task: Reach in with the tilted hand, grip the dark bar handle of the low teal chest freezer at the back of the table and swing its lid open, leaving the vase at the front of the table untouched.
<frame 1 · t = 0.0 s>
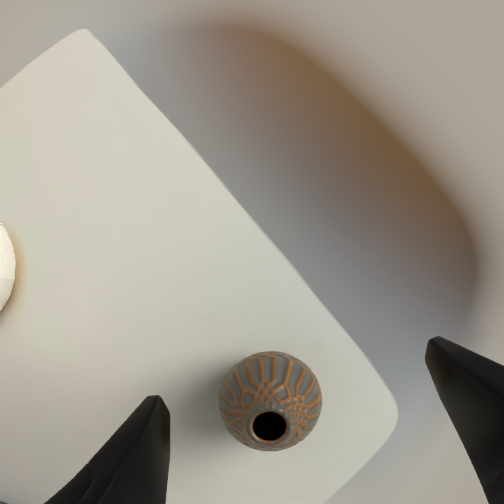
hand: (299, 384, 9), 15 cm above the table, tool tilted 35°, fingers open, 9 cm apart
cup: (1, 272, 27), on the table
vase: (270, 387, 23), on the table
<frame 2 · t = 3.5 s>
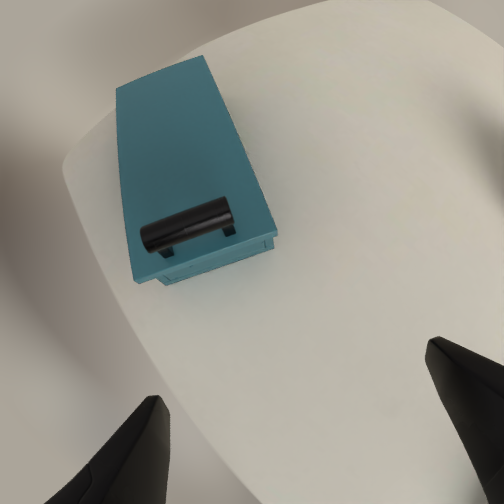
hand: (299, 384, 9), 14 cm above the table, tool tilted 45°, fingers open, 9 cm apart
freezer: (192, 175, 29), on the table
freezer lid: (167, 125, 21), point 8 cm above the table, hinge at 0.0°
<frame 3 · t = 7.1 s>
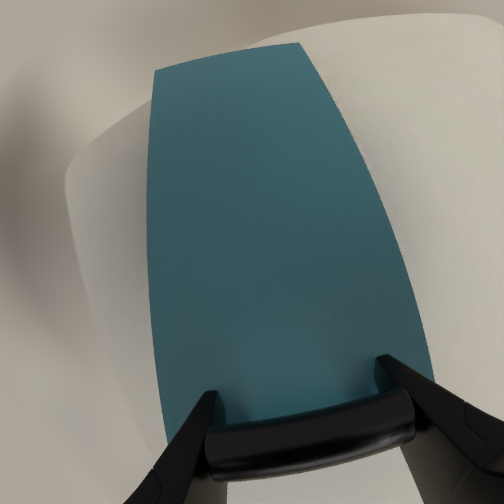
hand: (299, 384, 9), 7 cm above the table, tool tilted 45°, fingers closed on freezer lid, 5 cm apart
freezer lid: (252, 158, 11), point 8 cm above the table, hinge at -0.1°, touching gripper
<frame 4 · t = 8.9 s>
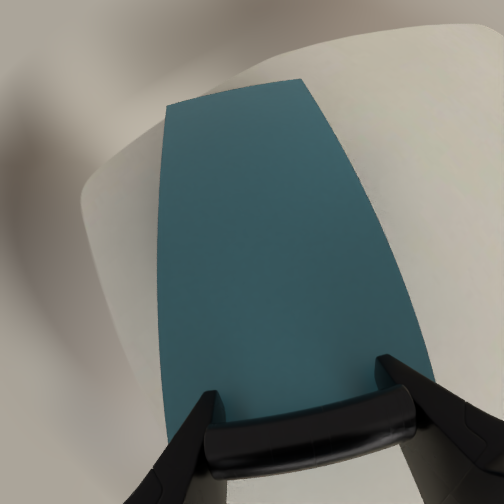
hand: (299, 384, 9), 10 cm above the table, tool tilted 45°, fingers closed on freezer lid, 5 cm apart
freezer lid: (256, 182, 12), point 9 cm above the table, hinge at 9.1°, touching gripper
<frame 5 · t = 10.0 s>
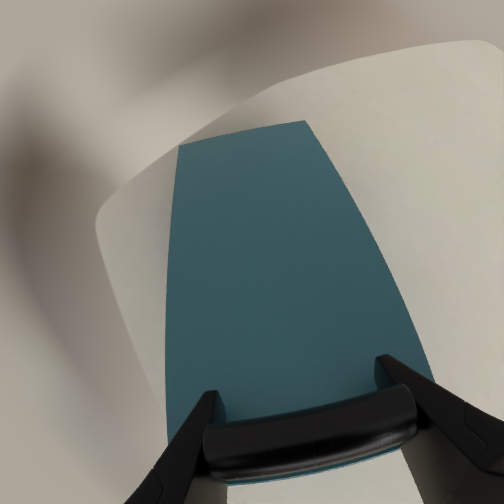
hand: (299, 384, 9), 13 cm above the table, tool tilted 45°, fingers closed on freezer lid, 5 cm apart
freezer lid: (261, 211, 14), point 11 cm above the table, hinge at 18.5°, touching gripper
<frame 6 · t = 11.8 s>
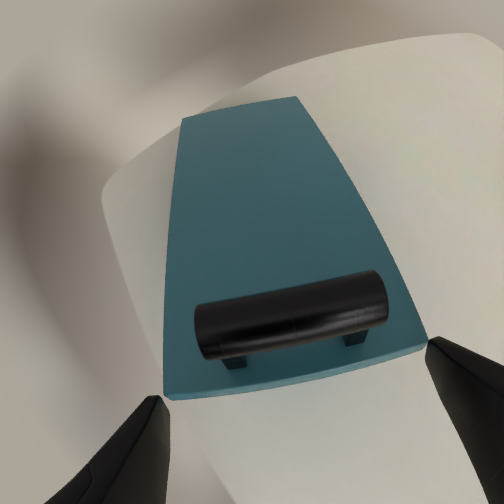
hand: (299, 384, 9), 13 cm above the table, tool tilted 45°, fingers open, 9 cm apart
freezer lid: (253, 160, 15), point 11 cm above the table, hinge at 17.7°
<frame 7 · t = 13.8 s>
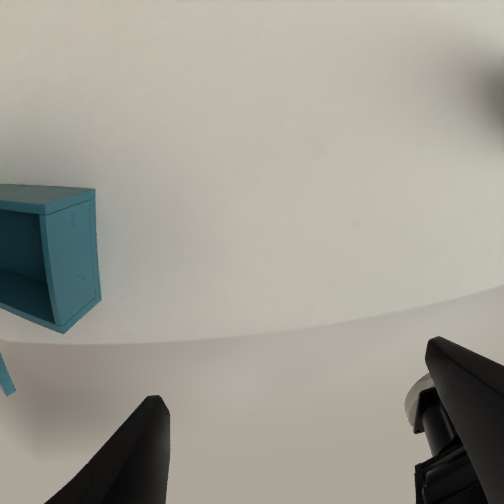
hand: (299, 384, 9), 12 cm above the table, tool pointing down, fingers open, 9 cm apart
freezer: (21, 233, 23), on the table
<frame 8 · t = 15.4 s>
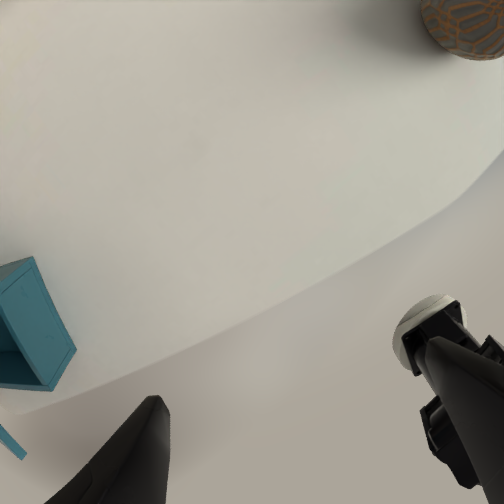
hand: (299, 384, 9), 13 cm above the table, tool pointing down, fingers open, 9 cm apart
vase: (442, 25, 15), on the table
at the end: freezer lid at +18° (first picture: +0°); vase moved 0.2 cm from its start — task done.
